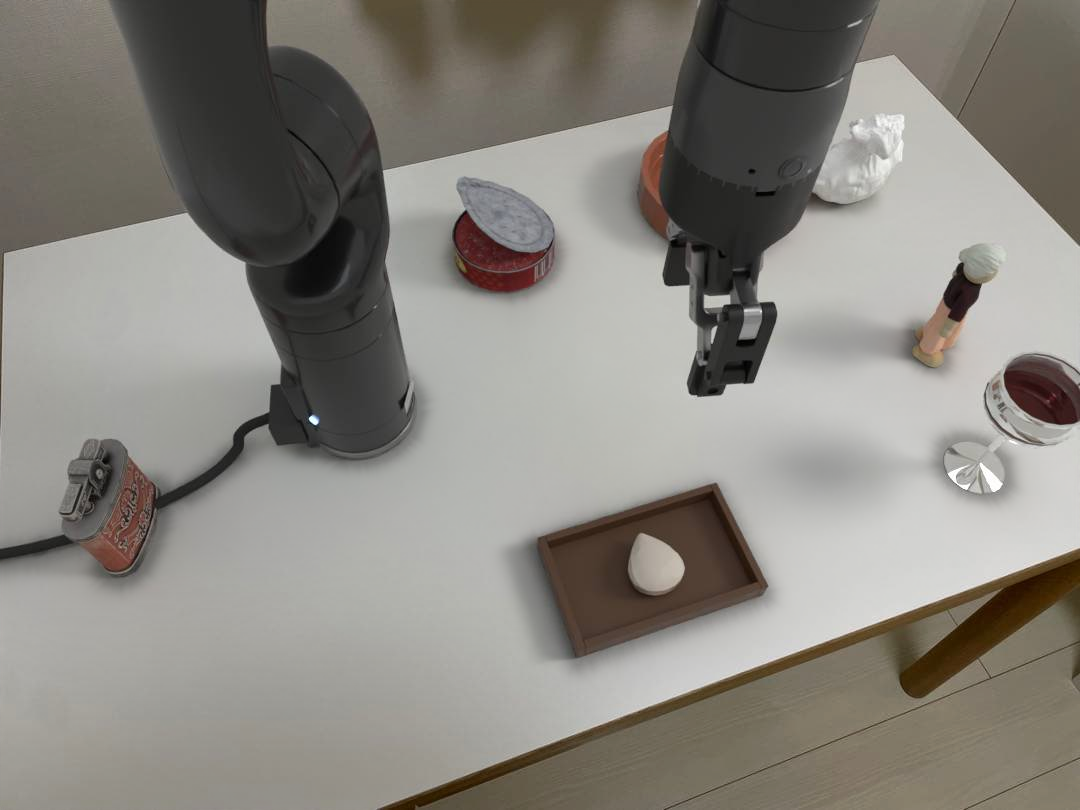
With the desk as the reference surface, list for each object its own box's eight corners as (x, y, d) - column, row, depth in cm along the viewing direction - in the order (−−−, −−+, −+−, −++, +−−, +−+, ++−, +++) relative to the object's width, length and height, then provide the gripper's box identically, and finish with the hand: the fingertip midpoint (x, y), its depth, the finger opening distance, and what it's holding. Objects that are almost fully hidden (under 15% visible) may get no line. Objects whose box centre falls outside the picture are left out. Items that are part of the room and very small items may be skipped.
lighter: (128, 483, 69) (72, 420, 61) (169, 485, 69) (119, 421, 61) (97, 577, 65) (33, 522, 57) (141, 578, 65) (83, 524, 57)
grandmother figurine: (953, 379, 76) (1023, 287, 65) (909, 372, 76) (972, 279, 66) (948, 314, 80) (1013, 216, 69) (907, 307, 80) (965, 209, 70)
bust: (787, 221, 89) (850, 203, 78) (769, 150, 88) (830, 121, 77) (884, 193, 92) (958, 171, 81) (867, 123, 91) (940, 92, 80)
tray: (576, 658, 62) (578, 650, 60) (536, 547, 67) (537, 537, 65) (762, 595, 65) (768, 586, 63) (712, 493, 69) (716, 481, 68)
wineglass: (1013, 514, 69) (1097, 440, 59) (928, 488, 70) (996, 411, 60) (1018, 446, 72) (1098, 365, 62) (937, 422, 73) (1002, 339, 63)
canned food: (477, 254, 89) (482, 159, 84) (566, 274, 87) (577, 177, 82) (426, 288, 80) (428, 183, 75) (524, 312, 77) (533, 204, 72)
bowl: (652, 263, 83) (657, 234, 80) (625, 156, 91) (629, 125, 88) (804, 250, 84) (816, 222, 81) (765, 146, 92) (773, 115, 89)
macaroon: (637, 606, 64) (641, 594, 62) (613, 547, 66) (615, 534, 64) (689, 588, 65) (694, 576, 62) (663, 531, 67) (667, 518, 65)
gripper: (646, 36, 43) (616, 253, 57) (702, 242, 36) (651, 435, 49) (789, 30, 44) (725, 247, 57) (873, 232, 36) (776, 426, 50)
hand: (690, 334), depth 53 cm, fingers open, 8 cm apart
